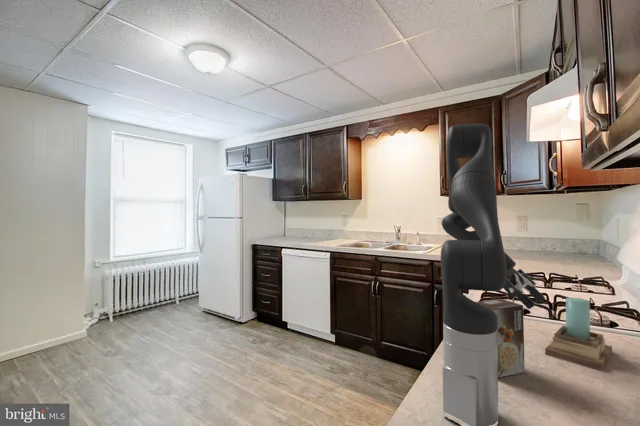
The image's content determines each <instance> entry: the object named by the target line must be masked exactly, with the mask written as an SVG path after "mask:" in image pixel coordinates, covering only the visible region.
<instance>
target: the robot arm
mask: <svg viewBox="0 0 640 426" xmlns="http://www.w3.org/2000/svg"><path fill="white" fill-rule="evenodd" d="M492 136H493V135H492V130H491V128H490V126H489V125H488V124H485V123H465V124H454V125H451V126H449V129H448V132H447V135H446V163H447V176H448V185H449V186H448V202H447V206H448V208H449V211H451V213H449V214H447V215H446V216H444V217H443V219H442V220H441V226H442V228H443V230H444V231H445V233H446V234H447V235H449V236H450V237H452V238H454V239H448V240H446V241H444V242H443V243H442V245H441V250H440V270H441V284H442V303H443V304H442V307H443V309H442V313H443V314H442V326H443V329H442V330H443V331H442V333H443V334H442V335H443V336H442V337H443V367H442V411H444V412H446V413H448V414H450V415H452V416H454V417H456V418H458V419H460V420H462V421H463V422H465V423H467V424H468V425H470V426H489V425H493V424H495V423H496V422H497V421H498V419H499V378H498V334H497V316H496V314H495V312H494V311H492V310H491V309H490V308H488V307H486V306H483V305H481V304H479V303H476V302H477V301H474V300H473V299H470V298H469V297H467V295H465V294H463V292H462V291H461V290H470V291H483V292H499V291H501V290H504V291H505V292H506V293H507V294H508V295H509V297H510V298H512V299H514V298H516V299H518V300H519V301H520V302H521V303H522V304H523V306H524V307H525V308H526V309H528V310H531V309H533V308H534V307H535V306H536V303H535V302H534V301H533V300H532V299H531V298H530V296H528V295H527V294H526V293H525V292H524V290H525V291H527V293H529V294H530V295H531V297H533V298H534V300H535V301H537V303H542V302H543V301H544V300H546V297H545V296H544V295H543V294H542V293H541V292H540V291H539V290H538V289H537V286H536V285H537V283H536V282H535V281H534V280H533V279H532V278H531V277H530V276H529V275H528V274H526V273H525V272H524V271H523V269H521V268H519V269H518V270H516V269H515V267H516V265H517V263H516V262H515V261H514V259H513V258H512V257H510V255H508V253H506V251H505V248H504V244H503V240H502V235H501V229H500V224H499V219H498V197H497V189H496V187H497V186H496V181H495V176H494V174H495V173H494V168H493V153H492V150H493V147H492V143H493V142H492V141H493V139H492V138H493V137H492ZM459 159H470V160H468V161H467V162H466V163H465V164H463V166H461V165H460V161H459ZM469 228H472V229H473V230H467V229H469Z"/></svg>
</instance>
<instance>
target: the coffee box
mask: <svg viewBox="0 0 640 426" xmlns="http://www.w3.org/2000/svg"><path fill="white" fill-rule="evenodd" d="M475 302H476V303H479V304H481V305H483V306H486V307H488V308H490V309H491V310H492V311H494V312H495V314H496V316H497V334H498V377H501V378H504V377H503V376H505V377H508V376H509V375H510V376H512V375H518V374H522V373H525V368H526V367H525V335H524V334H525V331H524V329H525V328H524V327H525V326H524V304H523V305H522V304H520V303H516V302H513V301H510V300H507V299H504V298H496V299H487V300H482V301H481V300H480V301H479V300H478V301H475Z"/></svg>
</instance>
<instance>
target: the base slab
mask: <svg viewBox="0 0 640 426" xmlns="http://www.w3.org/2000/svg"><path fill="white" fill-rule="evenodd" d="M544 350H545V352H544V353H545V355H546V356H551V357H554V358H558V359H561V360H563V361H568V362H571V363H573V364H577V365H581V366H584V367H587V368H590V369H594V370H597V371H603V370H604V367H605V365H606V364H607V362H608V360H609V359H610V356H611V354H612V353H613V346H611V345H608V344H606V338H604V334H602V333H597V332H593V331H590V341H586V340H582V339H578V338H574V337H570V336H566V325H562V326H561V327H560V328H559V329H557V330H556V332H555V333H554V335H553V337H552V342H550V343H549V344H548V345H547V346H546V347H545V349H544Z"/></svg>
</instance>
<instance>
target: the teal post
mask: <svg viewBox="0 0 640 426" xmlns="http://www.w3.org/2000/svg"><path fill="white" fill-rule="evenodd" d="M590 303H591V302H590V301H589V300H587V299H583V298H581V297H566V298H565V326H566V336H570V337H574V338H578V339H582V340H586V341H590V332H591V325H590V324H591V323H590V322H591V318H590V316H591V315H590V314H591V313H590V312H591V309H590V305H591V304H590Z"/></svg>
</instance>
